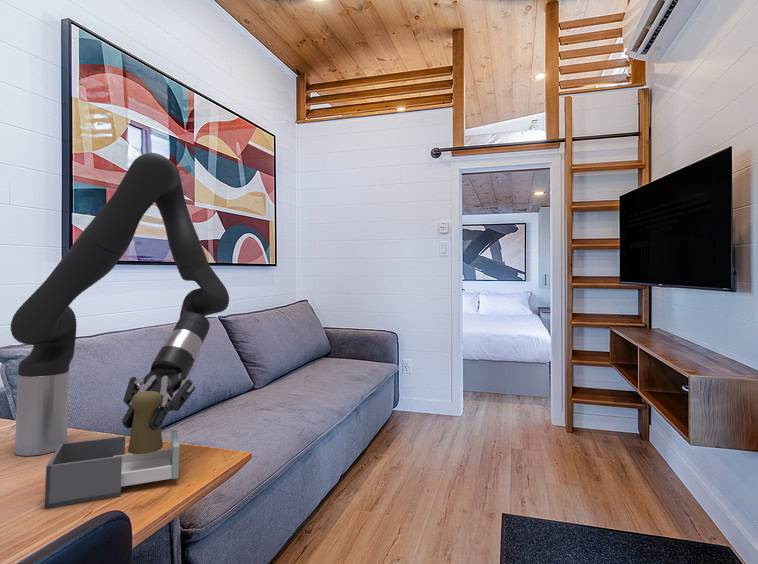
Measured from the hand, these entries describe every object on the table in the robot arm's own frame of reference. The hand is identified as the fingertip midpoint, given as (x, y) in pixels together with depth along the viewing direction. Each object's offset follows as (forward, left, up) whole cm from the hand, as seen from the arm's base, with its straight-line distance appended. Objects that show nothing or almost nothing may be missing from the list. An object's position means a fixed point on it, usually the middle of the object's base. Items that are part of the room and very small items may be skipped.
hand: (139, 426), depth 83 cm
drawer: (-2, +1, -9) cm, 10 cm away
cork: (-2, +1, -5) cm, 5 cm away
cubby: (+1, -7, -11) cm, 13 cm away
